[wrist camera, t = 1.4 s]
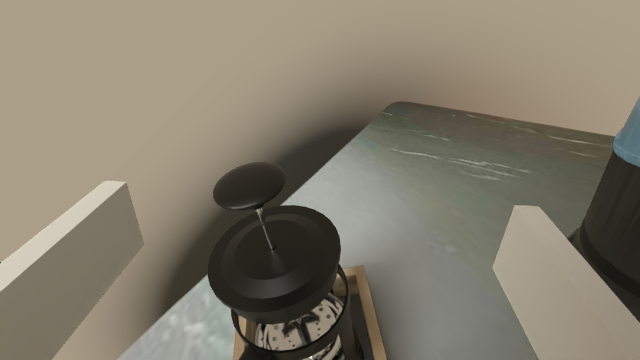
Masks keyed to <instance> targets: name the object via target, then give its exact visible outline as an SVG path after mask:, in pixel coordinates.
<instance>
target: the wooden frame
mask: <svg viewBox="0 0 640 360" xmlns="http://www.w3.org/2000/svg"><path fill="white" fill-rule="evenodd" d="M343 271H344V273H345V275H346V278H347V281H348V287H349V293H350V295H354V294H359V297H360V301H361V306H362V310H363V315H364V320H365V324H366V329H367V333H368V338H369V342H370V347H371V351H372V356H373V360H387V358H386V354H385V350H384V346H383V342H382V338H381V334H380V330H379V326H378V322H377V318H376V314H375V310H374V306H373V302H372V298H371V294H370V290H369V286H368V282H367V278H366V274H365V270H364V266H363V265H361V266H356V267H350V268H345V269H343ZM333 292H334V296H335V297H343V296H346V287H345V284H344V282H343V280H342V279H341V277H340V276H339V274H338V273H337V276H336V280H335V282H334V285H333ZM239 326H240V329H241V333H242V334H243V335H244V336H245V337H246V338H247V339H248V340H249V341H250V342H252V343H254V344H255V336H256V326H257V324H256V323H255V322H251V321H248V320H246V319H245V318H243V317H241V316H239ZM246 347H247V346H246V345H245V344H244V342H243V341H242V339H241V337H240V336H239V334H238V332H237V330H236V332H235V342H234V352H233V360H239V358H240V357H241V355H242V353H243V352H244V350H245V348H246Z"/></svg>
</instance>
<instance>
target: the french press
mask: <svg viewBox="0 0 640 360" xmlns="http://www.w3.org/2000/svg"><path fill="white" fill-rule="evenodd" d="M285 182H286V176H285V172H284V171H283V169H282V168H280V167H279V166H278V165H275V164H273V163H269V162H254V163H249V164H245V165H242V166H239V167H237V168H235V169H233V170H231V171H230V172H228V173H226V174H225V175H224V176H223V177H222V178H221V179H220V180H219V181H218V182H217V184H216V185H215V187H214V190H213V198H214V201H215V202H216V203H217V204H218V205H219V206H221V207H222V208H225V209H229V210H247V209H253V210H256V213H254V214H251V215H249V216H247V217H246V218H244V219H242V220H241V221H239V222H238V223H236V224H235V225H234V226H232V227H231V228H230V229H229V230H228V231H227V232H226V233H225V234H224V235H223V236H222V237H221V239H220V240H219V241H218V243H217V244H216V246H215V248H214V250H213V252H212V254H211V256H210V260H209V264H208V279H209V283H210V286H211V288H212V290H213V291H214V293H215V295H216V297H217V298H218V299H219V300H220V301H221V302H222V303H223V304H224V305H226V306H228V307H229V308H231V316H232V320H233V324H234V327H235V328H236V330H237V332H238V334H239V336H240V337H241V339H242V341H243V342H244V344H245V345H246V346H247V347H246V348H245V350H244V352H243V353H242V355H241V357H240V358H239V360H344V359H345V360H364V356H363V351H362V348H361V345H360V343H359V341H358V337H357V334H356V331H355V329H354V327H353V325H352V320H351V317H350V312H349V311H350V293H349V287H348V281H347V278H346V275H345V273H344V271H343V269H342V268H341V266H340V265H339V260H340V253H341V245H340V238H339V235H338V232H337V230H336V227H335V226H334V225H333V223H332V222H331V221H330V220H329V219H328V218H327V217H326V216H324V215H323V214H321V213H320V212H318V211H316V210H314V209H310V208H307V207H303V206H295V205H284V206H277V207H271V208H267V209H264V210H262V208H261V207H263V205H264V204H265V203H267V202H268V201H270V200H271V199H273V198H274V197H275V196H276V195H277V194H278V193H279V192H280V191H281V190H282V188H283V187H284V184H285ZM337 273H338V274H339V276H340V277H341V279H342V280H343V282H344V284H345V287H346V297H345V302H344V304H343V303H342V302H341V301H340V300H339V299H338V298H337V297H335V296H334V292H333V285H334V282H335V280H336V276H337ZM239 316H241V317H243V318H245V319H246V320H248V321H251V322H255V323H256V324H257V326H258V327H257V330H256V336H255V344H254V343H252V342H250V341H249V340H248V339H247V338H246V337H245V336H244V335H243V334H242V333H241V329H240V326H239Z"/></svg>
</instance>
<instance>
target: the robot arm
mask: <svg viewBox="0 0 640 360" xmlns="http://www.w3.org/2000/svg"><path fill="white" fill-rule="evenodd" d="M613 144H614V148H613V149H614V150H613V152H612V155H611V157H610V160H609V162H608V164H607V167H606V169H605V171H604V174H603V176H602V179H601V181H600V183H599V186H598V188H597V190H596V193H595V195H594V197H593V200H592V202H591V204H590V206H589V209H588V211H587V213H586V216H585V218H584V221H583V223H582V225H581V227H580V228H578V229H577V230H576V231H575V232H574V233H572V234H571V235H570V236H569V237H567V238H566V237H565V236H564V235H563V234H562V233H561V231H560V230H559V229H558V228H557V227H556V226H555V224H554V223H553V222H552V221H551V220H550V219H549V218H548V216H547V215H546V214H545V213H544V212H543V211H542V209H541V208H540V207H539V206H522V205H515V206H514V209H513V211H512V214H511V217H510V220H509V223H508V225H507V228H506V231H505V234H504V237H503V239H502V242H501V245H500V248H499V251H498V253H497V256H496V259H495V262H494V265H493V267H492V269H493V271H494V273H495V275H496V277H497V279H498V281H499V282H500V284H501V286H502V288H503V290H504V292H505V294H506V296H507V298H508V300H509V302H510V304H511V306H512V308H513V310H514V312H515V314H516V316H517V318H518V320H519V322H520V324H521V326H522V328H523V330H524V332H525V334H526V336H527V338H528V339H529V341H530V343H531V345H532V347H533V349H534V351H535V353H536V355H537V357H538V359H539V360H640V98H639V99H638V100H637V102H636V105H635V106H634V108H633V110H632V112H631V114H630V116H629V118H628V120H627V122H626V123H625V125H624V127H623V128H622V129H621V130H620V131H619V132H618V133H617V135H616V137H615V139H614V142H613ZM143 245H144V242H143V238H142V235H141V231H140V228H139V224H138V221H137V218H136V214H135V211H134V207H133V204H132V200H131V197H130V193H129V190H128V186H127V183H126V182H117V181H104V182H103V183H102V184H100V185H99V186H98V187H97V188H95V189H94V190H93V191H92V192H90V193H89V194H88V195H87V196H85V197H84V198H83V199H81V200H80V201H79V202H78V203H76V204H75V205H74V206H73V207H71V208H70V209H69V210H67V211H66V212H65V213H64V214H62V215H61V216H60V217H59V218H57V219H56V220H55V221H53V222H52V223H51V224H50V225H48V226H47V227H46V228H45V229H43V230H42V231H41V232H40V233H38V234H37V235H36V236H34V237H33V238H32V239H31V240H29V241H28V242H27V243H26V244H24V245H23V246H22V247H20V248H19V249H18V250H17V251H15V252H14V253H13V254H12V255H10V256H9V257H8V258H7V259H5V260H4V261H3V262H0V360H52V359H53V357H54V356H55V355H56V353H57V352H58V351H59V350H60V349H61V347H62V346H63V345H64V344H65V342H66V341H67V340H68V338H69V337H70V336H71V335H72V334H73V332H74V331H75V330H76V329H77V327H78V326H79V325H80V323H81V322H82V321H83V320H84V319H85V317H86V316H87V315H88V314H89V312H90V311H91V310H92V309H93V307H94V306H95V305H96V304H97V302H98V301H99V300H100V299H101V297H102V296H103V295H104V294H105V292H106V291H107V290H108V288H109V287H110V286H111V285H112V283H113V282H114V281H115V280H116V279H117V277H118V276H119V275H120V274H121V272H122V271H123V270H124V269H125V267H126V266H127V265H128V264H129V262H130V261H131V260H132V259H133V257H134V256H135V255H136V254H137V252H138V251H139V250H140V249H141V247H142V246H143Z"/></svg>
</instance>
